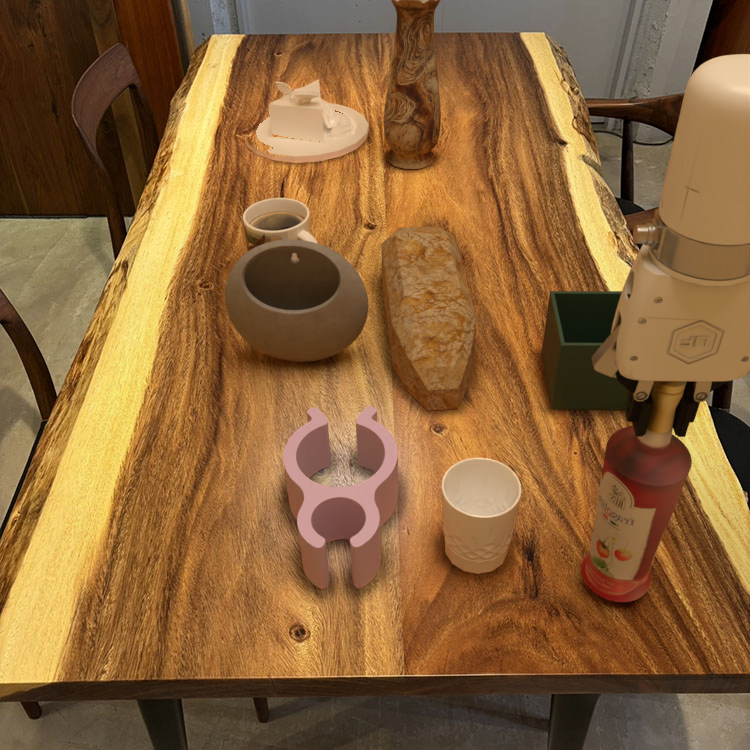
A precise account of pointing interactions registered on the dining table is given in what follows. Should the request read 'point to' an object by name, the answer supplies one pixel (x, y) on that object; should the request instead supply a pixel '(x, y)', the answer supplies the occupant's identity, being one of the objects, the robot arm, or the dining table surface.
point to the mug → (277, 222)
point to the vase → (413, 87)
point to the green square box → (579, 351)
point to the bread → (428, 315)
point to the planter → (296, 300)
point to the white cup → (479, 513)
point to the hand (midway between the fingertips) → (656, 423)
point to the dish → (309, 127)
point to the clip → (341, 496)
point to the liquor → (636, 500)
